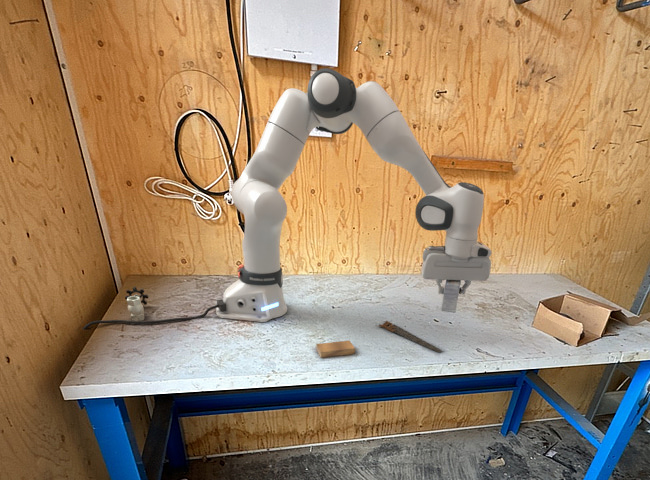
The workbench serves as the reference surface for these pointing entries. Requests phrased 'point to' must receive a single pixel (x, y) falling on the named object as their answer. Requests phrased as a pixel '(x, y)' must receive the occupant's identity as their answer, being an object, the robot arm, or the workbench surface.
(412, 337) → the hand saw
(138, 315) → the valve
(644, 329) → the workbench surface
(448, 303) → the medicine box
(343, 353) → the plywood offcut
